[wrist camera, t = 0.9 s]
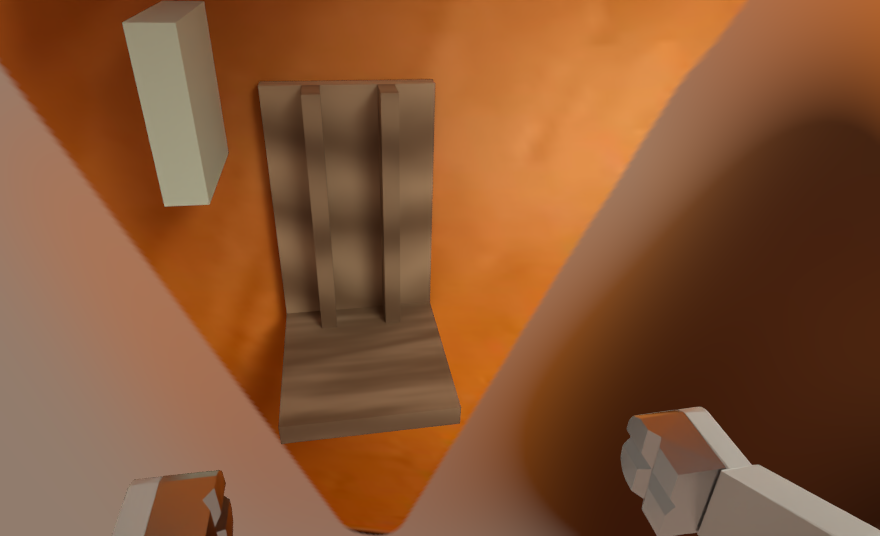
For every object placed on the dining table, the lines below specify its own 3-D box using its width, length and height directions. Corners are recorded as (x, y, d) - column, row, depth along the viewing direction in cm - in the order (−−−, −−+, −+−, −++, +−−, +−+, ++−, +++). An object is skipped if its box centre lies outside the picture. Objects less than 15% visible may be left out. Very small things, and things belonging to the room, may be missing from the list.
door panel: (162, 0, 37) (122, 22, 29) (204, 1, 37) (175, 22, 29) (192, 153, 42) (164, 206, 34) (228, 152, 42) (209, 204, 35)
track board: (259, 81, 40) (235, 150, 28) (432, 79, 42) (477, 143, 30) (289, 319, 50) (281, 443, 38) (427, 308, 52) (459, 423, 40)
